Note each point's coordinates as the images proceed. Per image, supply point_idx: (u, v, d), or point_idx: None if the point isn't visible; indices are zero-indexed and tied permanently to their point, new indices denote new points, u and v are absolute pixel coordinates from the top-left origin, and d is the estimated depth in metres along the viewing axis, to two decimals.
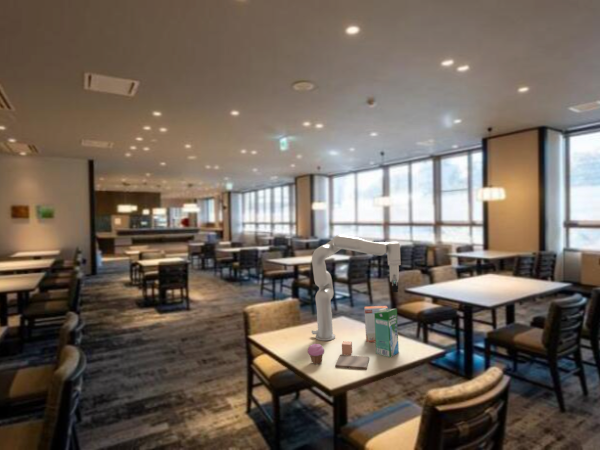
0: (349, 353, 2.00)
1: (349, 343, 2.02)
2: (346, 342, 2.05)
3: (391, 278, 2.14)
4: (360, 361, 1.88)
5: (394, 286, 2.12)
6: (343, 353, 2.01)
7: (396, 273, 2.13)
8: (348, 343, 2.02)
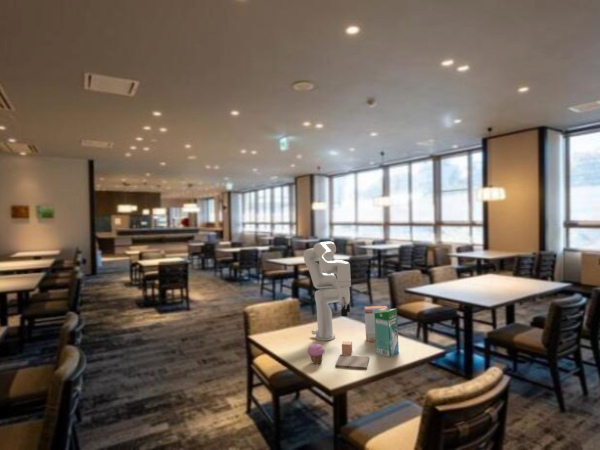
0: (349, 353, 2.00)
1: (349, 343, 2.02)
2: (346, 342, 2.05)
3: (340, 301, 1.98)
4: (360, 361, 1.88)
5: (343, 310, 1.97)
6: (343, 353, 2.01)
7: (345, 296, 1.98)
8: (348, 343, 2.02)
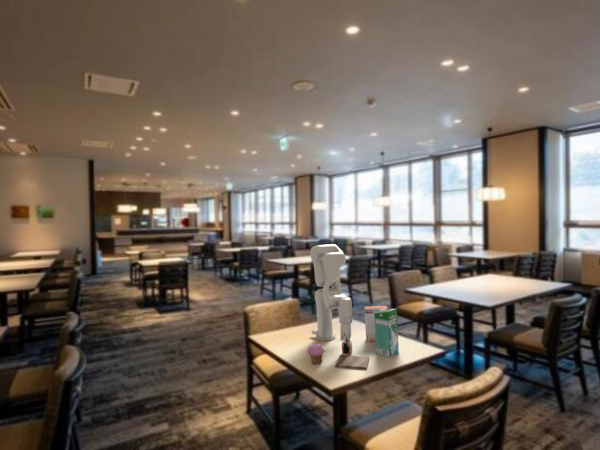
0: (349, 353, 2.00)
1: (349, 343, 2.02)
2: None
3: (341, 337, 1.99)
4: (360, 361, 1.88)
5: (345, 347, 2.00)
6: (343, 353, 2.01)
7: (347, 332, 1.98)
8: (348, 343, 2.02)
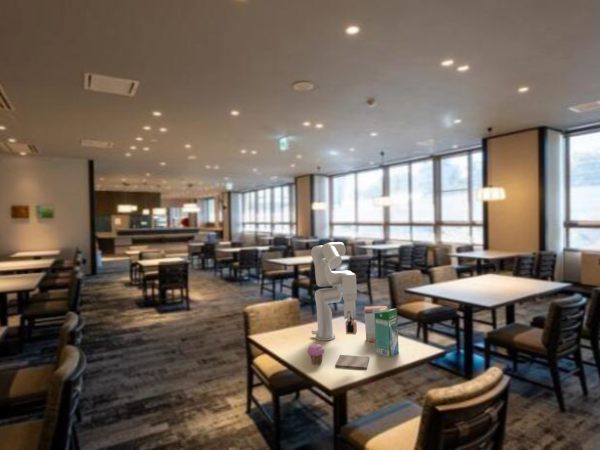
0: (353, 332, 1.86)
1: (353, 321, 1.88)
2: (350, 320, 1.91)
3: (345, 315, 1.85)
4: (360, 361, 1.88)
5: (349, 326, 1.85)
6: (347, 332, 1.87)
7: (351, 310, 1.84)
8: None
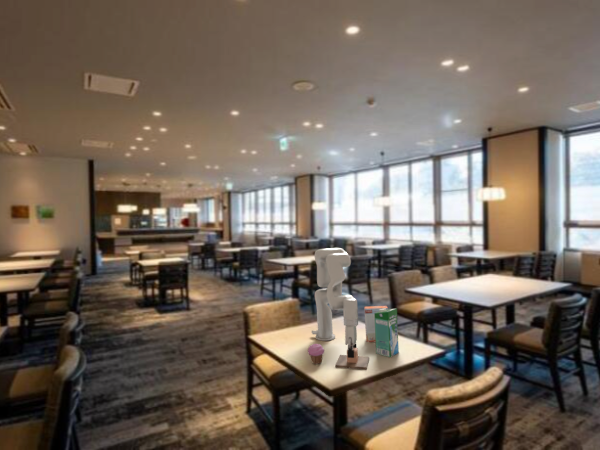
0: (355, 360, 1.87)
1: (355, 350, 1.88)
2: None
3: (346, 341, 1.85)
4: (360, 361, 1.88)
5: (350, 351, 1.84)
6: (348, 360, 1.88)
7: (352, 336, 1.84)
8: None
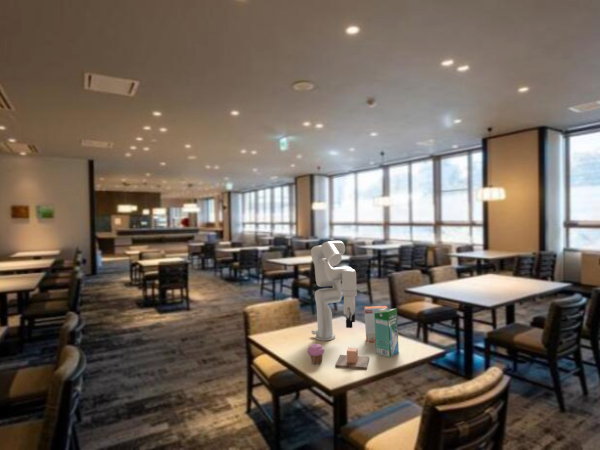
0: (355, 360, 1.87)
1: (355, 350, 1.88)
2: (351, 348, 1.91)
3: (345, 311, 1.85)
4: (360, 361, 1.88)
5: (348, 321, 1.84)
6: (348, 360, 1.88)
7: (350, 306, 1.84)
8: (353, 350, 1.88)
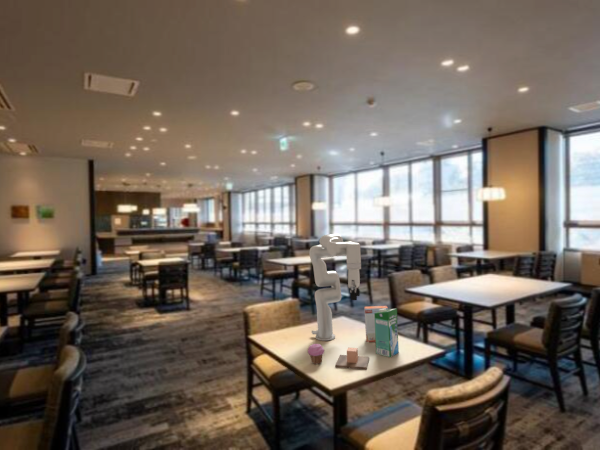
0: (355, 360, 1.87)
1: (355, 350, 1.88)
2: (351, 348, 1.91)
3: (349, 284, 1.88)
4: (360, 361, 1.88)
5: (352, 293, 1.86)
6: (348, 360, 1.88)
7: (355, 278, 1.87)
8: (353, 350, 1.88)
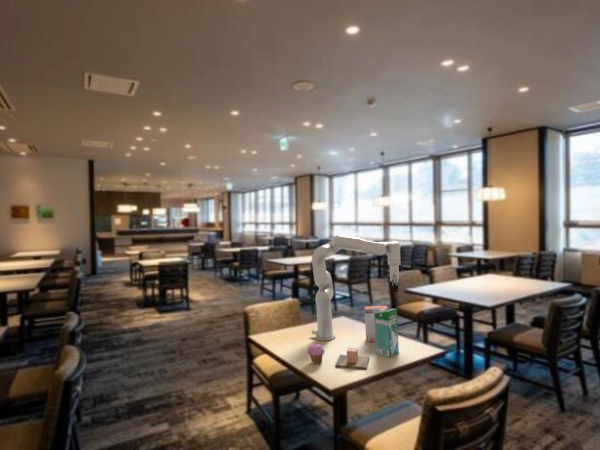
0: (355, 360, 1.87)
1: (355, 350, 1.88)
2: (351, 348, 1.91)
3: (391, 278, 2.14)
4: (360, 361, 1.88)
5: (394, 286, 2.12)
6: (348, 360, 1.88)
7: (396, 273, 2.13)
8: (353, 350, 1.88)
